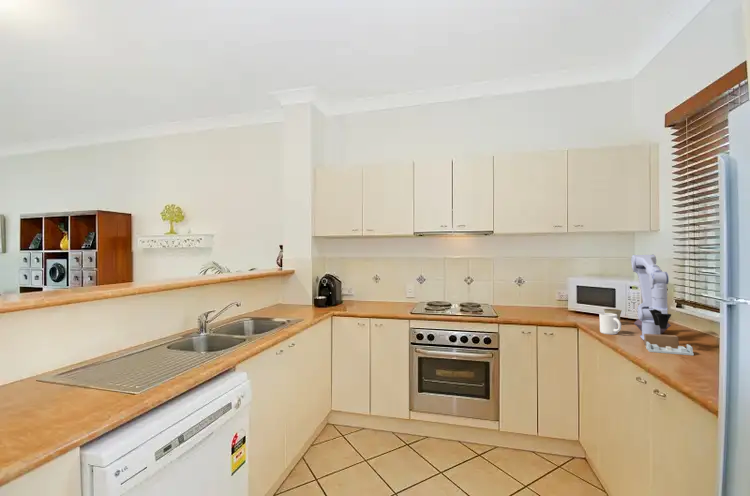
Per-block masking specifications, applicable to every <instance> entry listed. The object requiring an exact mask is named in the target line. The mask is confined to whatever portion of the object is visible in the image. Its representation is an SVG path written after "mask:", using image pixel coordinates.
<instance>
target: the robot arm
mask: <svg viewBox="0 0 750 496" xmlns="http://www.w3.org/2000/svg"><path fill="white" fill-rule="evenodd" d="M630 261H631V262H630V263H631V269H632V271H633V272H634V273H635V274H637V277H638V284H639V288H640V293H641V299H642V302H641V303H639V304H638V305H637V308H636V309H637V318H638V319H639V320H640V321H642V331H641V335H639V337H640V338H641V340H643V341H644V334H659V335H661V334H660V329H666V328H667V324H668V323H669V320H670V319H671V317H672V314H671V313H668V311H669V307H668V284H669V280H670V279H669V278H670V277H669V274H668V272H667V271H663V270H662V269H661V267H660V266H658V265H657V257H656V255H655V254H632V256H631V257H630ZM638 319H637V320H638Z"/></svg>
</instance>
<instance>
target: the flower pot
mask: <svg viewBox="0 0 750 496" xmlns="http://www.w3.org/2000/svg"><path fill="white" fill-rule="evenodd" d="M603 312H604V313H612V314H617V319H618V320H619V321H620V322H621V314H622V312H623V310H622V309H618V308H617V309H616V308H604V309H603Z"/></svg>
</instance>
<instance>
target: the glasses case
mask: <svg viewBox="0 0 750 496" xmlns="http://www.w3.org/2000/svg"><path fill="white" fill-rule="evenodd" d="M643 341H644V346H645V347H646V342H649V343H650V344H657V345H658V346H659V347H663V348H666V346H669V347H671V348H676V349H678V346H680V345H679V343H680V341H679V336H677V335H675V334H674V335H671V334H660V335H659V334H644V340H643Z"/></svg>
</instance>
